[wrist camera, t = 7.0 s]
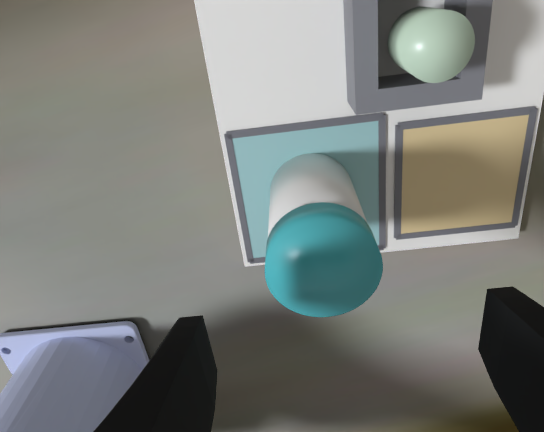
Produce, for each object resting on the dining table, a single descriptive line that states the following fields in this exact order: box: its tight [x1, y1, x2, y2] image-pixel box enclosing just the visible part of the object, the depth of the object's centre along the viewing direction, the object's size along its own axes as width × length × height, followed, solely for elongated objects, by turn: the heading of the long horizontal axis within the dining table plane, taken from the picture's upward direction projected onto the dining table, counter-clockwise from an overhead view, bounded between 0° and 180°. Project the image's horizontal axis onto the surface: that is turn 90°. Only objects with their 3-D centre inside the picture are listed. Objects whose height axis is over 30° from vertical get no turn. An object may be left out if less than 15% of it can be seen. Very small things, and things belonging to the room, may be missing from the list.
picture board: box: [194, 0, 544, 266], centre depth 17 cm, size 12×13×3 cm
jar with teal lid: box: [265, 153, 383, 317], centre depth 16 cm, size 4×4×6 cm
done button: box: [387, 7, 475, 83], centre depth 13 cm, size 2×2×2 cm
